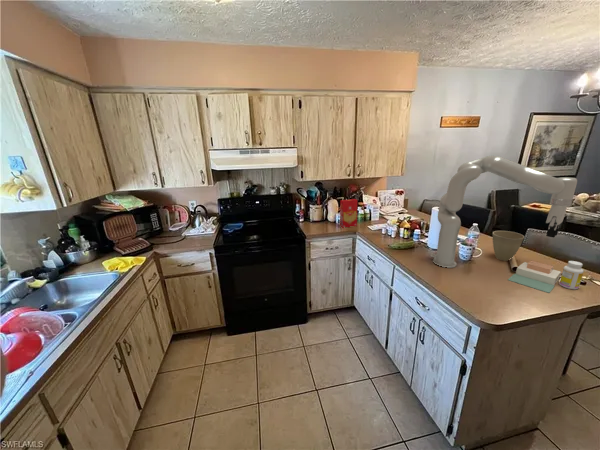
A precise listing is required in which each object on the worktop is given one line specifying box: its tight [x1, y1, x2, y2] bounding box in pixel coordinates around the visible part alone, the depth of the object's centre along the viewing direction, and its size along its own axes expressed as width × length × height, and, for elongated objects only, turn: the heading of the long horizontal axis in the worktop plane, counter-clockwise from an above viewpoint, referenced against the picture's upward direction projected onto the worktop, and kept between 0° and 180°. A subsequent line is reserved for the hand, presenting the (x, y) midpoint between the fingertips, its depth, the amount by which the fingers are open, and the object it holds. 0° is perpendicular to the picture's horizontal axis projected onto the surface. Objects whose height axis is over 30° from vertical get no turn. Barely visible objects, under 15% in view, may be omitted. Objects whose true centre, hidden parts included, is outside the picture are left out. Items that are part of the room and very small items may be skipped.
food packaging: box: [339, 198, 358, 229], centre depth 228 cm, size 15×5×25 cm, turn 109°
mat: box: [507, 273, 556, 294], centre depth 127 cm, size 16×10×1 cm, turn 35°
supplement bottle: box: [559, 260, 584, 290], centre depth 121 cm, size 7×7×13 cm
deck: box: [515, 261, 562, 285], centre depth 132 cm, size 15×12×4 cm
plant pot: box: [492, 230, 525, 262], centre depth 153 cm, size 15×15×16 cm
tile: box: [527, 260, 554, 274], centre depth 132 cm, size 9×6×2 cm, turn 35°
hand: (551, 235), depth 132 cm, fingers open, 3 cm apart
